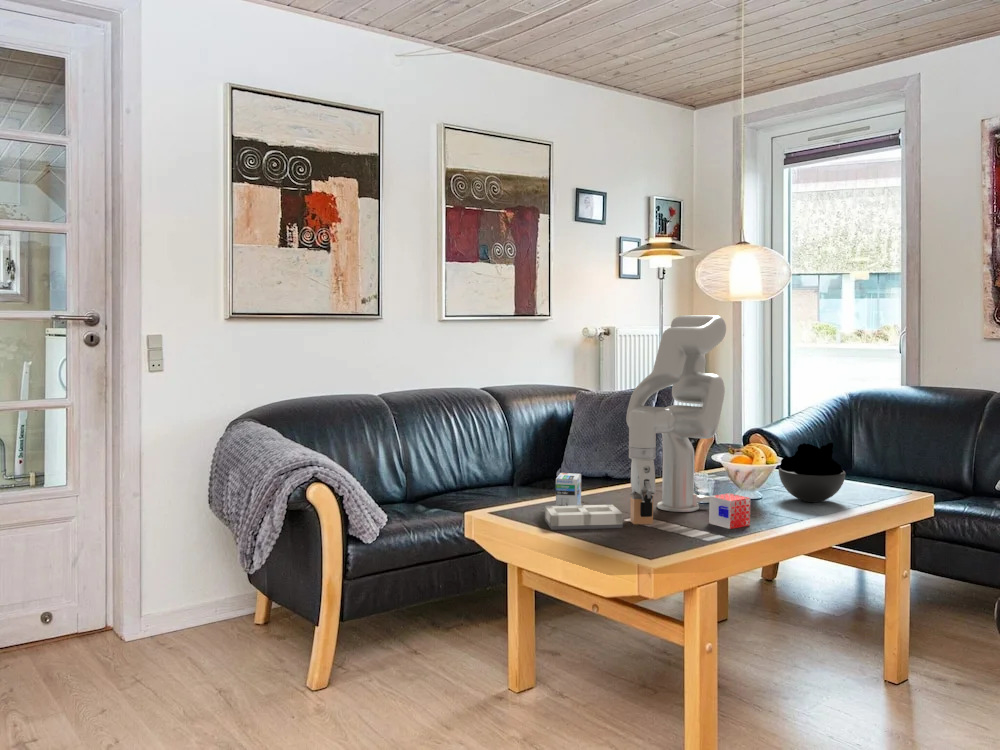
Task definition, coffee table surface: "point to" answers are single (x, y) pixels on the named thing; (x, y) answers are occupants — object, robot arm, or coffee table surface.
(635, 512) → the tan box
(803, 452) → the bowl of black rocks
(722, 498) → the red and white box
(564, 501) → the light bulb box
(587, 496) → the coffee table surface
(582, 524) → the socket plate
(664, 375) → the robot arm
